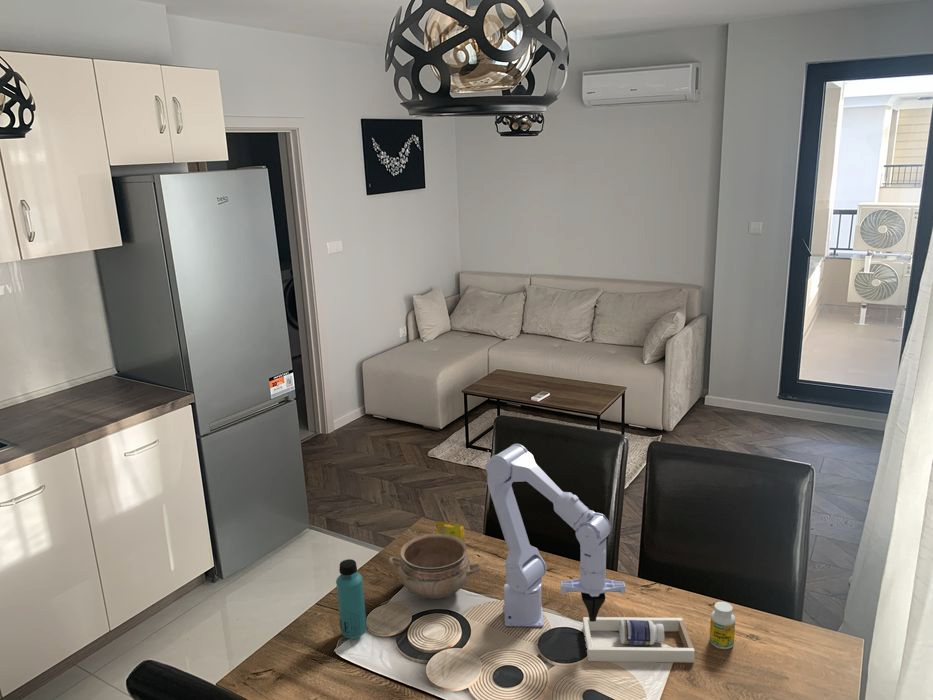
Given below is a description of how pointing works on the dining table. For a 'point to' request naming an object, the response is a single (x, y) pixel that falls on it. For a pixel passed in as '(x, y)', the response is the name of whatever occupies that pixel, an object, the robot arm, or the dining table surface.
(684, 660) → the corral
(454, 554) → the cooking pot
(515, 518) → the robot arm
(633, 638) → the pill bottle
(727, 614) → the supplement bottle
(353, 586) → the beverage bottle
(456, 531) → the crayon box
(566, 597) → the dining table surface
